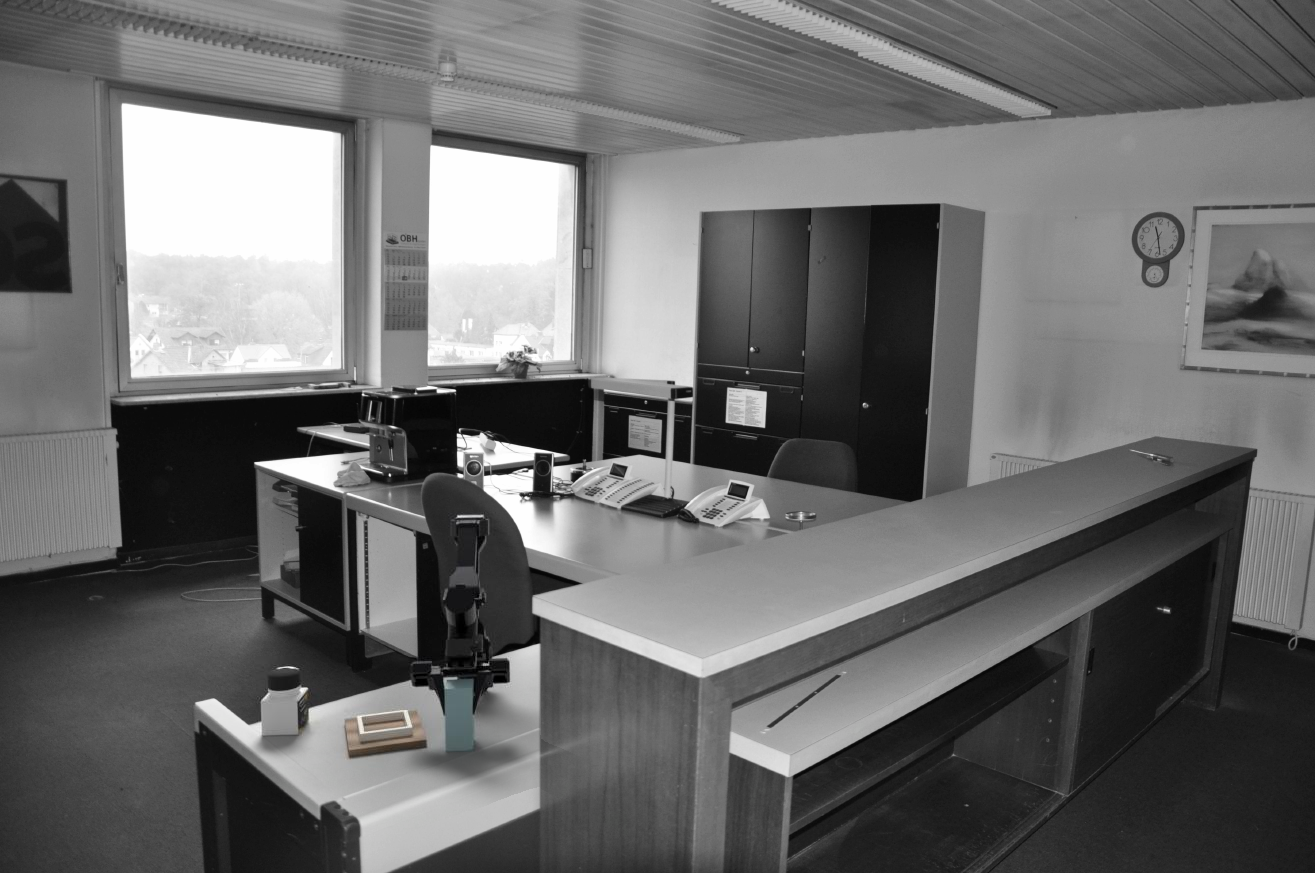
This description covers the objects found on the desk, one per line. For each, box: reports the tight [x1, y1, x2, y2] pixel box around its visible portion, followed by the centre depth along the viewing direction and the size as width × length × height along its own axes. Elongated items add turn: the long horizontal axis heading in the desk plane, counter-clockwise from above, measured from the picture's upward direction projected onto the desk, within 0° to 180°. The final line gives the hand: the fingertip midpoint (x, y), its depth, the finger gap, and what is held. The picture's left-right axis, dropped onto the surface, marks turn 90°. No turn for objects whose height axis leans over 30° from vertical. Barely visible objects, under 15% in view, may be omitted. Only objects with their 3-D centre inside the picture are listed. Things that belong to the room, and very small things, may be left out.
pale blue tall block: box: [444, 678, 475, 752], centre depth 180 cm, size 5×5×12 cm
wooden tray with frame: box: [344, 709, 428, 757], centre depth 185 cm, size 16×14×3 cm
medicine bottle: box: [260, 666, 310, 737], centre depth 188 cm, size 7×7×12 cm
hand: (459, 714), depth 179 cm, fingers closed on pale blue tall block, 5 cm apart
